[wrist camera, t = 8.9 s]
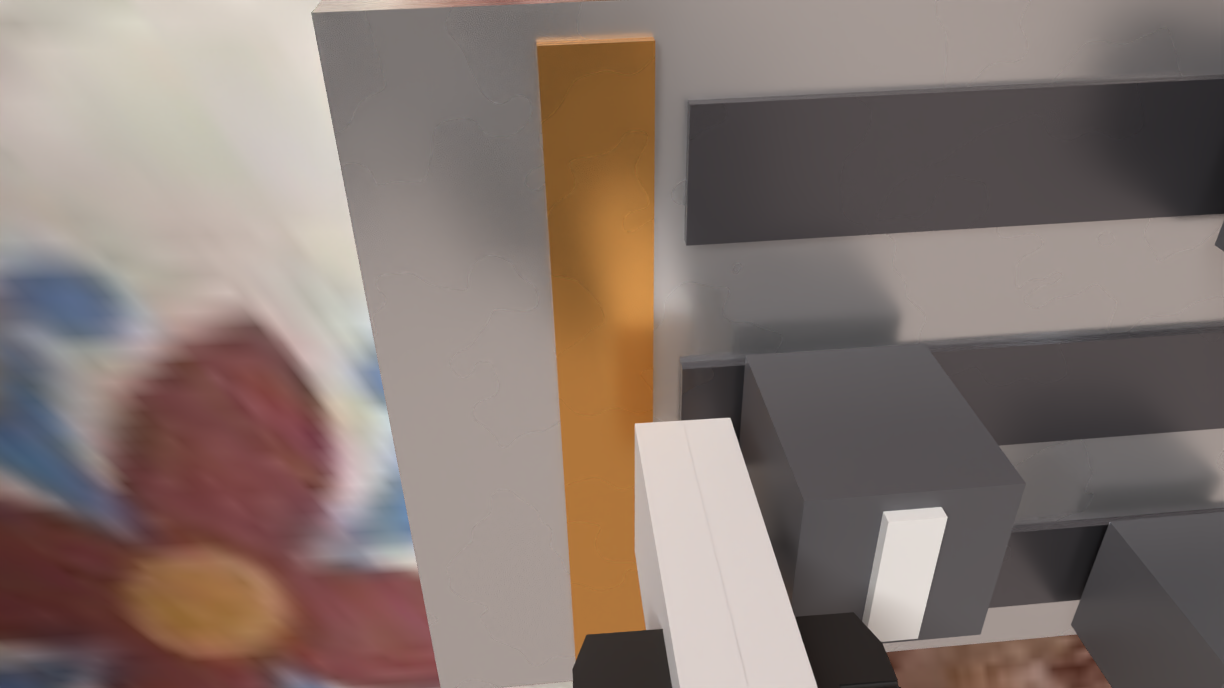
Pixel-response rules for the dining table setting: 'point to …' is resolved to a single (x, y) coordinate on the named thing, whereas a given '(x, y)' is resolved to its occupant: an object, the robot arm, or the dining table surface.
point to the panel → (772, 265)
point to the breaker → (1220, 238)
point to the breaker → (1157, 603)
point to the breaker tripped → (878, 488)
